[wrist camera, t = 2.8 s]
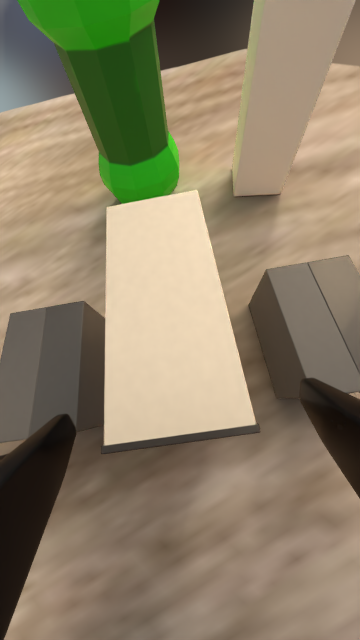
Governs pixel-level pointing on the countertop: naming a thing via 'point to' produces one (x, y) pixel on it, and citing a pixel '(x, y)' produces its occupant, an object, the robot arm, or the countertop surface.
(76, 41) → the plastic bottle
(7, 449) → the white books
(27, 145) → the countertop surface
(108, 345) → the cream rectangular block
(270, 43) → the milk
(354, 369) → the grey books
